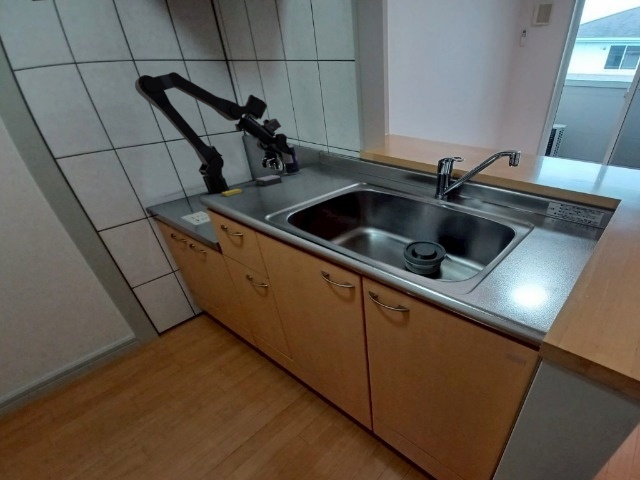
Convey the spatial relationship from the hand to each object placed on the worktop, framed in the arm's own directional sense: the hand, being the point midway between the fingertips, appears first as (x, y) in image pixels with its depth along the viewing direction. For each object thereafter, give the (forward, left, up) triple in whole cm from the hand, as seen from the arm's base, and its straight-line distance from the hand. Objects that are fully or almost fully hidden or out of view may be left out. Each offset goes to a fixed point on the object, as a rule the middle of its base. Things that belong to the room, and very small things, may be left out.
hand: (288, 154), depth 140 cm
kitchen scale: (-4, -18, -8) cm, 20 cm away
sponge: (-14, -31, -8) cm, 35 cm away
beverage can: (0, 0, -8) cm, 8 cm away
